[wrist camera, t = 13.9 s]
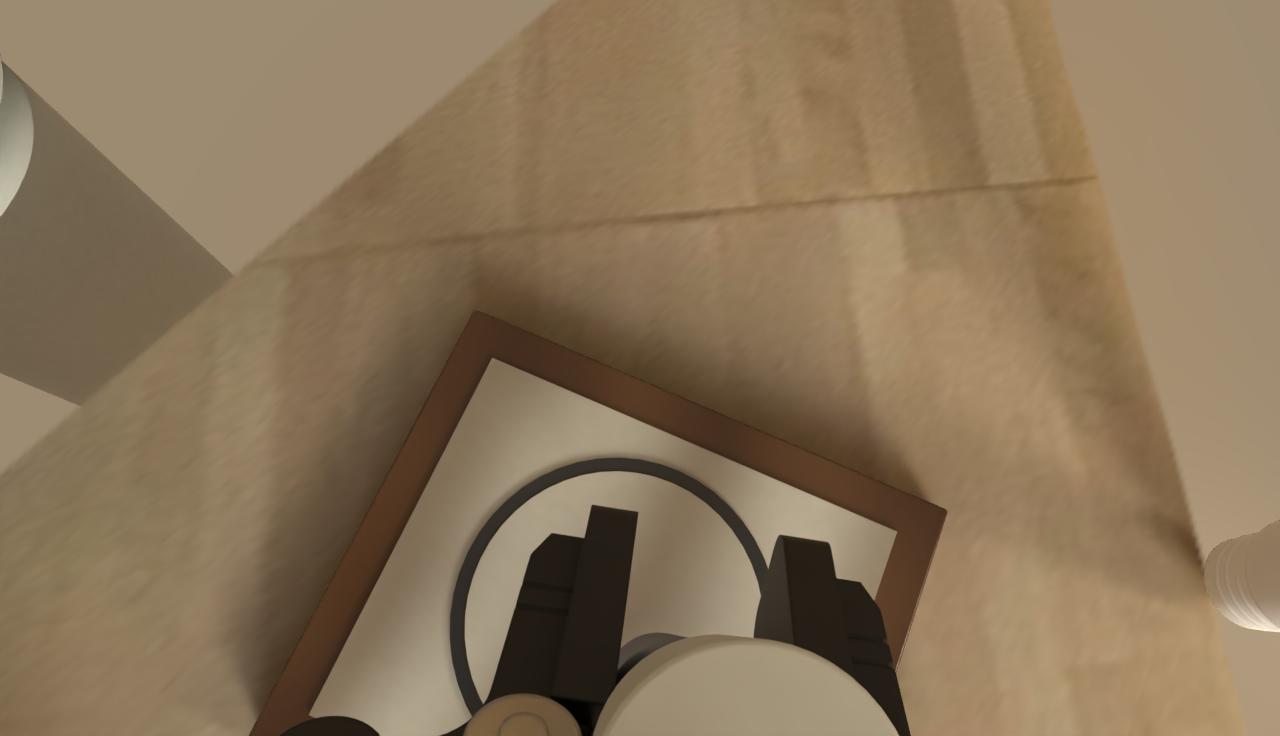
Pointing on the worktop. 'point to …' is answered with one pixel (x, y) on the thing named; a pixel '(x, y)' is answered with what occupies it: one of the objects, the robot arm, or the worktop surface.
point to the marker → (734, 691)
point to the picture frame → (572, 530)
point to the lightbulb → (1247, 579)
